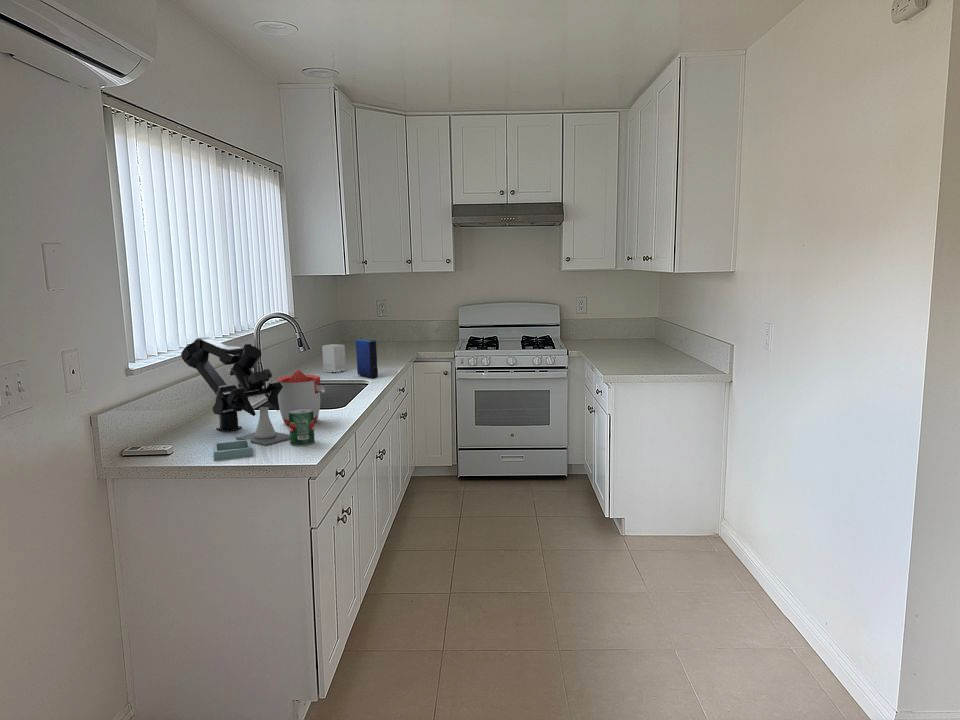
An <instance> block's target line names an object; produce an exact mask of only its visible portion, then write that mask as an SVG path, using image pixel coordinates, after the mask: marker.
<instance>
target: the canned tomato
mask: <svg viewBox="0 0 960 720" xmlns="http://www.w3.org/2000/svg"><path fill="white" fill-rule="evenodd" d="M288 427H289V435H290V440H289V444H290V445H291V446H293V447H306V446H310V445H313V444H315V442H316V441H315V422H314V417H313V409H311V408H297V409H292V410H289V425H288Z"/></svg>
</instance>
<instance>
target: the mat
mask: <svg viewBox="0 0 960 720" xmlns="http://www.w3.org/2000/svg"><path fill="white" fill-rule="evenodd" d="M275 432H276V436H275V437H271V438H265V439H257V438H255V437H254V436H255V432H252V433H248V434H245V435H244V434H243V435H241V436H236V437H235V440H237V441H239V440H249V439H250V442H251V444H256V445H261V446H264V447H267V446H272V445H275V444H278V443H282V442H286V441H290V434H287V433H283V432H278V431H275Z"/></svg>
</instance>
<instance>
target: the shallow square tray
mask: <svg viewBox="0 0 960 720" xmlns="http://www.w3.org/2000/svg"><path fill="white" fill-rule="evenodd" d="M212 445H213V446H212V447H213V460H214V461H220V460H228V459H237V458H244V457H245V458H246V457H253V456H254V455H253V446H252V443H251V442H250V439H249V440H231V441H222V442H221V441H220V442H213V444H212Z"/></svg>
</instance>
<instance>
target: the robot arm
mask: <svg viewBox="0 0 960 720" xmlns="http://www.w3.org/2000/svg"><path fill="white" fill-rule="evenodd" d="M210 354H211V355H214V356H215V357H218V358H219V361H220V362H221V363H222V364H224V365H225V366H230V365H233V366H232V367H231V368H230V372H229V375H230V376H235V379H236V381H238V384H237V386H236V385H235V384H231V385H228V384H227V383H226V382H225V380H224V379H223V378H222V376H221V375H220V374H219V373H218V372H217V370H216V368H214V366H213V365H212V363H210V361H209V358H210V357H209V355H210ZM180 355H181V356H182V357H181V356H180V357H181V359H182V361H183V362H184V363H185V364H186V365H187V366H188V367H190V368H193V369H195V370H197V372H199V374H200V376H201V377H202V378H203V379H204V381H205V382H206V383H207V385H208V386H209V387H210V388H211V390H212V391H213V393H214V394H215V401H214V402H215V403H214V405H213V406H212V412H213V414H214V415H218V418H219V419H218V420H219V427H215V429H216V430H217V431H223V432H228V433H229V432H232V431H234V430H239V429H242V428H243V426H239V419H238V418H239V417H238V412H241V411H244V412H246V413H247V414H249V415H251V416H253V417H255V416H256V415H257V414H256V411H255V409H254V408H253V406H252V404H251V402H250V401H249V398H250V397H257V396H262V395H264V396H265V397H266V398H267V401H268V402H269V404H270V405H271V406H272V407H273V409H275V410H276V411H277V412H278V411H279V412H280V409H279V402H278V394H279V392H280V391H281V389H282V388H283V386H282V385H281V383H280V382H277V381H275V382H270V383H268V385H267V387H264V386H265V382H267V381H269V380H270V379H271V378H272V376H273V374H272V371H271V370H270V369H269V368H265V369H263V370H260V371H256V372H254V371H253V370H252V369H254V368H255V367H256V365H257V364H258V362H259V360H260V358H261V357H262V351H261V349H259V348H258V347H256V346H253V345H252V344H251V343H245V344H244V345H243V348H242V347H241V346H235V345H234V346H233V345H232V346H231V345H225V344H224V343H221V342H219V341H217V340H215V339H212V338H211V337H209V336H205V337H198V338H196V339H195V340H194V341H192V342H191V343H189V344H188V345H186V346H185V347H184V348H183V350H182V351H181V352H180Z"/></svg>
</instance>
